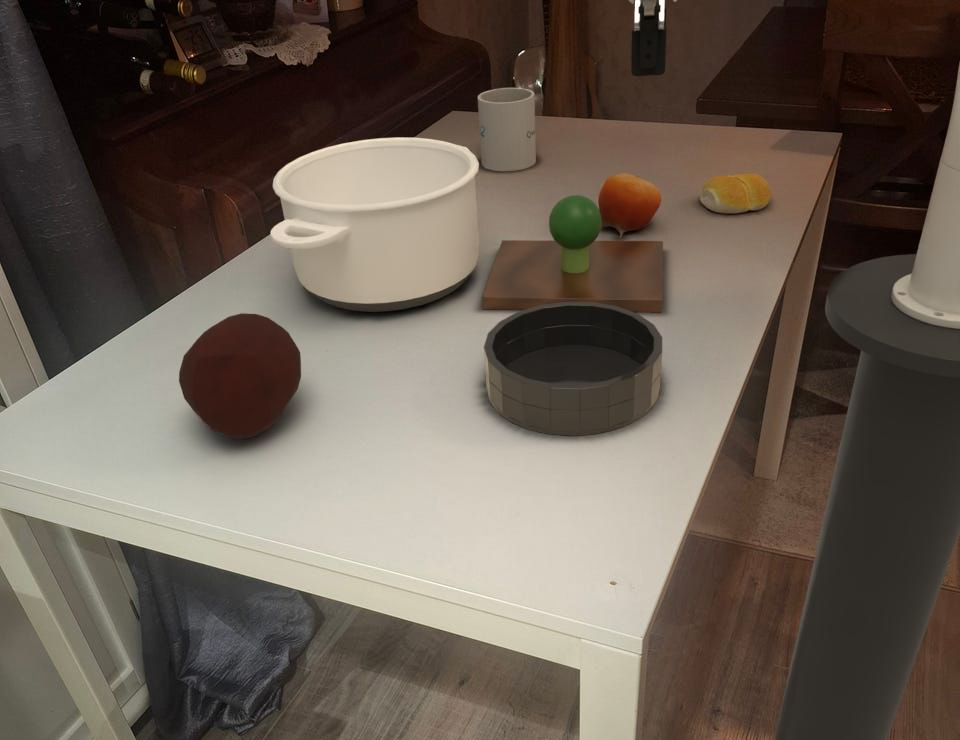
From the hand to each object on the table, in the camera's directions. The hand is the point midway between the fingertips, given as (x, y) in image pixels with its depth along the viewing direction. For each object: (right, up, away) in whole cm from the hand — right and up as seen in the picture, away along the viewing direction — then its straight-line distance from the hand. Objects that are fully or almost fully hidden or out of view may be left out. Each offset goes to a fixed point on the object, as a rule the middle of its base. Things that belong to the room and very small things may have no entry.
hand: (648, 62), depth 90 cm
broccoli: (-6, -17, +15) cm, 23 cm away
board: (-6, -18, +16) cm, 25 cm away
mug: (-12, +9, +52) cm, 54 cm away
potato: (-39, -37, -4) cm, 54 cm away
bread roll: (+17, -5, +31) cm, 36 cm away
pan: (-8, -33, -3) cm, 34 cm away
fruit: (+2, -9, +27) cm, 29 cm away
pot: (-28, -18, +19) cm, 38 cm away
